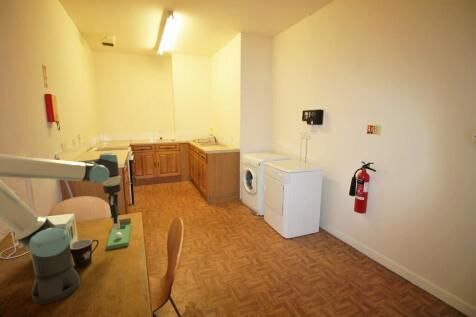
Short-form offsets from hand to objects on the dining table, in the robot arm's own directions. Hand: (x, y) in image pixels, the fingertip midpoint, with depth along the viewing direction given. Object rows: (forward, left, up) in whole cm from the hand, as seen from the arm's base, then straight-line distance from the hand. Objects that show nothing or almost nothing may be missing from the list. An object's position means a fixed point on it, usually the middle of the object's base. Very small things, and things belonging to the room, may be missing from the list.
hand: (116, 228), depth 121 cm
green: (+13, 0, -11) cm, 17 cm away
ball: (+6, 0, -7) cm, 9 cm away
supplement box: (+6, +27, -11) cm, 30 cm away
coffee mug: (-9, +12, -11) cm, 19 cm away
